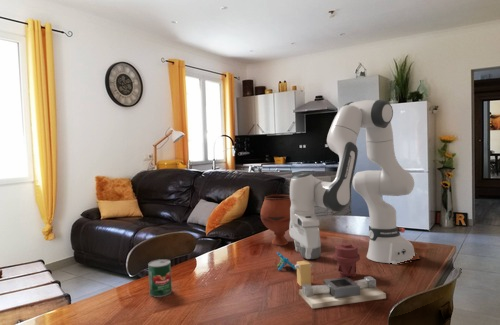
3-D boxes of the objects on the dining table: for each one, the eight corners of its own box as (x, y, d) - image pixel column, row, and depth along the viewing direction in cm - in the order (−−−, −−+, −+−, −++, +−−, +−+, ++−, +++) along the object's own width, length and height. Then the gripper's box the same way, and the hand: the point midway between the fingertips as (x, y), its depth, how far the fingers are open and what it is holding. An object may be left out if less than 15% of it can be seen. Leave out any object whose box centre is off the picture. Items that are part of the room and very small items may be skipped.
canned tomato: (160, 298, 126) (159, 267, 126) (144, 294, 130) (143, 264, 130) (176, 290, 133) (175, 261, 132) (161, 286, 137) (159, 258, 137)
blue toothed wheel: (300, 269, 146) (281, 252, 146) (290, 280, 145) (272, 264, 145) (293, 264, 157) (276, 248, 157) (284, 274, 156) (267, 259, 156)
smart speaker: (297, 259, 163) (297, 229, 162) (302, 253, 172) (302, 224, 171) (318, 261, 160) (318, 230, 159) (322, 255, 168) (322, 225, 167)
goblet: (263, 238, 202) (261, 193, 201) (298, 238, 200) (296, 193, 199) (259, 248, 184) (257, 199, 182) (297, 248, 181) (296, 198, 180)
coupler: (310, 280, 138) (309, 260, 138) (314, 284, 134) (313, 263, 134) (294, 282, 137) (293, 261, 136) (297, 286, 133) (297, 265, 132)
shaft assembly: (368, 282, 131) (368, 274, 130) (383, 292, 122) (383, 283, 122) (300, 291, 125) (300, 282, 125) (310, 302, 116) (310, 292, 116)
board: (366, 284, 132) (366, 280, 132) (385, 298, 120) (385, 293, 120) (298, 293, 126) (298, 289, 126) (312, 308, 115) (312, 304, 115)
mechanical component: (366, 276, 140) (346, 281, 136) (347, 269, 149) (328, 273, 144) (365, 245, 140) (345, 249, 135) (347, 239, 148) (327, 243, 144)
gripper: (285, 213, 143) (285, 248, 144) (304, 223, 123) (305, 263, 124) (300, 212, 145) (300, 246, 145) (321, 221, 125) (322, 261, 125)
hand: (302, 254), depth 134 cm, fingers open, 8 cm apart
